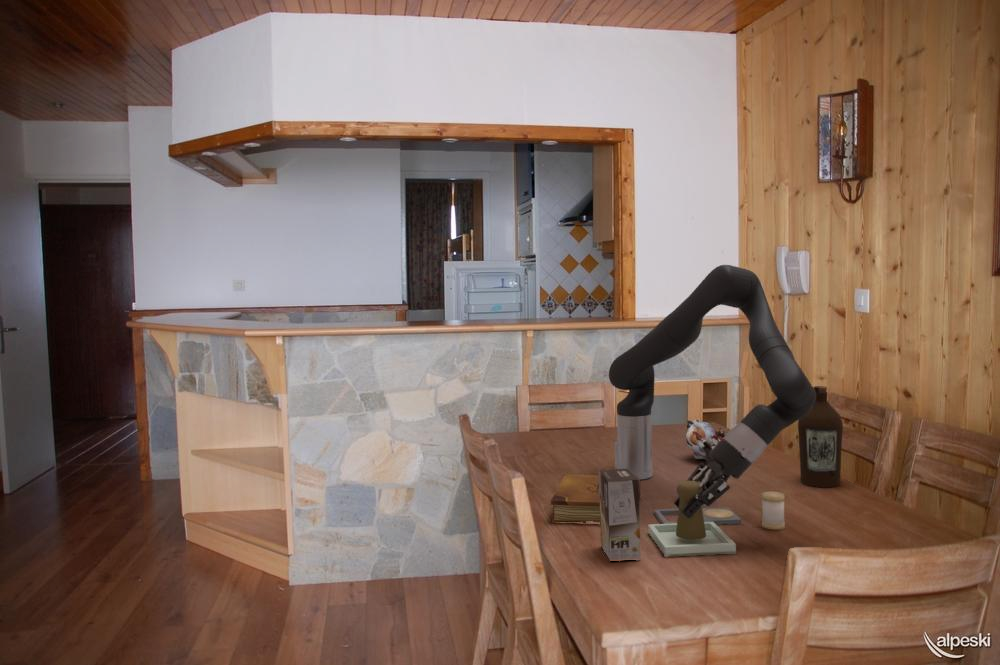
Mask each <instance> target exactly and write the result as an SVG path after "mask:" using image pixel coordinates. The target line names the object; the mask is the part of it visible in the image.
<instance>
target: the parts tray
mask: <svg viewBox="0 0 1000 665" xmlns="http://www.w3.org/2000/svg"><path fill="white" fill-rule="evenodd" d="M704 525H705V531H706V537H705V538H702V539H697V540H688V539H682V538H679V537H678V536H676V528H677V523H672V524H661V523H654V524H653V523H652V524H648V525H647V528H648V530H647V531H648V533H649V534H650V535H649V534H648V535H649V537H650V536H651V537H652V538H651V537H650V538H651V539H653V540H654V541H655V542H654V541H653V540H652V541H653V542H654V544H655V543H656V544H657V545H656V544H655V545H656V547H657V546H658V547H659V548H660V549H659V548H658V547H657V548H658V549H659V551H660V550H661V551H662V552H661V551H660V552H661V554H662V553H663V554H664V555H665V556H686V557H696V556H695V555H706V556H716V555H715V554H727V555H736V554H737V544H736V543H735V542H734V541H733V540H732V539H731V538H730V537H729V536H728V535H727V534H726V533H725V532H724V531H723V530H722V529H721V528H720V527H719V525H716V524H715V523H714V522H704ZM663 554H662V555H663ZM664 555H663V556H664ZM693 555H694V556H693Z"/></svg>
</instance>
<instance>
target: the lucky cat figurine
mask: <svg viewBox="0 0 1000 665" xmlns="http://www.w3.org/2000/svg"><path fill="white" fill-rule="evenodd" d="M686 421H687V425H686V428H687V429H686V430H687V432H686V434H685V437H686V445H687V446H688V447H689V448H690V450H691V451H692V452H693V458H694V459H695V460H704V461H706V454H705V451H704V450H703V449H702V447H703V446H704V445H703V443H704V442H705V441H706V442H707V441H708V440H709V439H710V438H711V437H713V435H716V434H717V437H720V430H719V429H718V431H719V432H718V431H717V430H716V431H715V430H714V428H713V426H712V425H711V424H710V423H709V422H705V421H700V422H699V420H698V419H694V420H692V421H691V420H686ZM725 433H726V432H725V431H724V429H723V428H722V429H721V437H722V438H724V437H725V436H726V434H725Z"/></svg>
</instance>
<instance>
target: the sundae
mask: <svg viewBox="0 0 1000 665" xmlns="http://www.w3.org/2000/svg"><path fill="white" fill-rule="evenodd" d="M721 429H722V430H723V428H721V427H719V429H718V431H717V432H719V430H720V437H717V434H716V435H713V437H711V438H710V439H709V440H708V441H707V442H706V441H705V442H704V443H703V445H704V446H703V447H702V449H703V450H704V451H705V454H706V460H705V461H706V466H707V465H708V464H709V463H711V462H712V461H713V458H712V457H711V456H710V455H709V453H710V451H711V450H712V449H713V448H714V447H715V446H716V445H717V444H718V443H719V442H720V441H721V440H722V439H723V438H722V437H721Z"/></svg>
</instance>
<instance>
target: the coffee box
mask: <svg viewBox="0 0 1000 665" xmlns="http://www.w3.org/2000/svg"><path fill="white" fill-rule="evenodd" d="M598 476H599V495H600V525H599V526H600V547H601V546H602V548H603V550H604V551H603V550H602V551H603V553H604V552H605V553H606V555H607V556H608V558H609V559H610V560H618V559H639V558H640V559H641V528H640V527H641V526H640V525H641V524H640V523H641V521H640V501H639V479H638V478H637V477H636V476H635V475H634V474H633V473H632V472H631V471H630V470H629V469H615V468H613V469H602V470H601V469H600V470H598ZM602 548H601V549H602ZM605 553H604V554H605ZM606 555H605V556H606ZM607 556H606V557H607ZM608 558H607V559H608Z"/></svg>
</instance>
